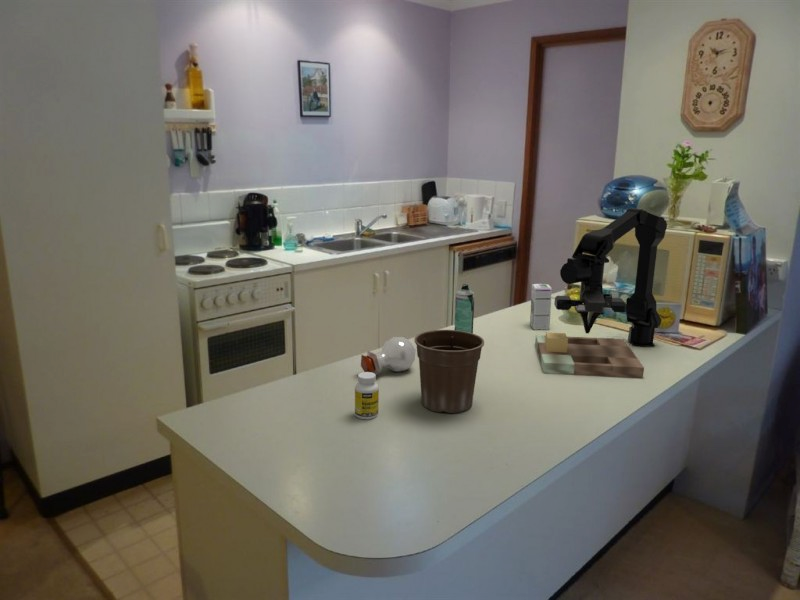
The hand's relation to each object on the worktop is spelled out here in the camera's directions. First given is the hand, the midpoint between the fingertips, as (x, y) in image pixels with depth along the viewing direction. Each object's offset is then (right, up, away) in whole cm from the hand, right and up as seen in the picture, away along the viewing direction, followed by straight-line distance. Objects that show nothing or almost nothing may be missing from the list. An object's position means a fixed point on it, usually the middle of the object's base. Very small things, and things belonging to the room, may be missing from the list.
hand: (587, 333), depth 176 cm
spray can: (-34, -6, +10) cm, 36 cm away
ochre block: (-8, -5, +2) cm, 10 cm away
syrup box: (-6, 0, +32) cm, 33 cm away
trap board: (0, -8, +2) cm, 8 cm away
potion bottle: (-56, -10, -8) cm, 57 cm away
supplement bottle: (-61, -17, -34) cm, 71 cm away
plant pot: (-42, -16, -27) cm, 52 cm away
